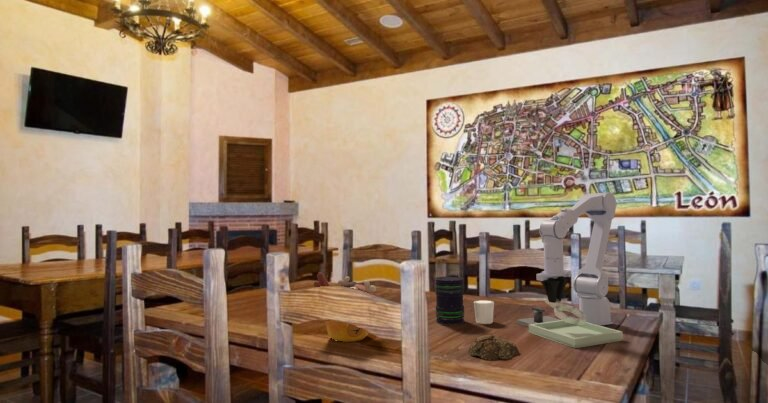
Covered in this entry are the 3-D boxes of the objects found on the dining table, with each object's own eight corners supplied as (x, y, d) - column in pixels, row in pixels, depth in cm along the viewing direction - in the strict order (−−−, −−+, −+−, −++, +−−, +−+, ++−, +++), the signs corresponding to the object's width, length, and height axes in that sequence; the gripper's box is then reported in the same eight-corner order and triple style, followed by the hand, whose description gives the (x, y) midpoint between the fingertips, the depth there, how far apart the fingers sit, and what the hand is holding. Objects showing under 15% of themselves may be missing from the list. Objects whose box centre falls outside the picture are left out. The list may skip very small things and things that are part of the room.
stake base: (547, 319, 165) (546, 303, 165) (570, 326, 155) (570, 308, 155) (516, 323, 160) (516, 306, 160) (539, 330, 150) (538, 312, 150)
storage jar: (463, 318, 169) (462, 276, 169) (465, 325, 159) (464, 280, 159) (435, 318, 170) (434, 276, 170) (435, 324, 160) (434, 280, 160)
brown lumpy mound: (482, 345, 136) (481, 327, 136) (523, 352, 128) (522, 333, 128) (459, 355, 126) (458, 337, 126) (502, 364, 118) (501, 344, 119)
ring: (590, 322, 143) (592, 315, 142) (572, 326, 138) (574, 319, 137) (555, 300, 153) (558, 293, 152) (538, 303, 148) (540, 297, 147)
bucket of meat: (384, 332, 151) (383, 269, 151) (370, 346, 135) (369, 276, 135) (326, 329, 156) (325, 269, 156) (305, 343, 140) (304, 275, 140)
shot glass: (494, 324, 159) (494, 303, 159) (474, 324, 160) (473, 303, 160) (494, 320, 165) (493, 300, 165) (474, 319, 167) (473, 299, 167)
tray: (573, 326, 155) (572, 318, 155) (622, 340, 137) (622, 331, 137) (528, 332, 148) (528, 324, 148) (575, 348, 130) (574, 339, 130)
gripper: (557, 255, 156) (558, 297, 155) (527, 258, 148) (529, 302, 147) (576, 257, 150) (577, 300, 150) (546, 260, 142) (548, 306, 142)
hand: (554, 301), depth 148 cm, fingers closed on ring, 2 cm apart
